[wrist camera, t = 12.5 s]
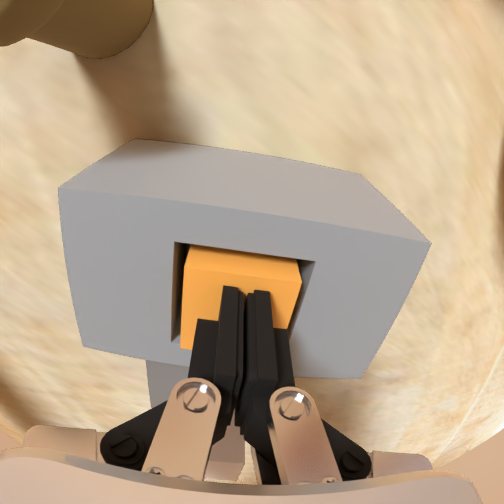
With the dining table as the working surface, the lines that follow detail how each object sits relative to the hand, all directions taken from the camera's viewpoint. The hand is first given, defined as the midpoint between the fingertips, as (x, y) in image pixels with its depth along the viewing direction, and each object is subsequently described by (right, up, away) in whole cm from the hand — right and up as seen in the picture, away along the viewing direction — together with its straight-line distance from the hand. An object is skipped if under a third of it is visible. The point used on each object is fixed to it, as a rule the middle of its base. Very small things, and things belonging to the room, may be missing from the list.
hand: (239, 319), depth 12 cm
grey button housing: (0, +5, +8) cm, 10 cm away
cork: (-8, +17, +2) cm, 19 cm away
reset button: (0, +2, +3) cm, 4 cm away
